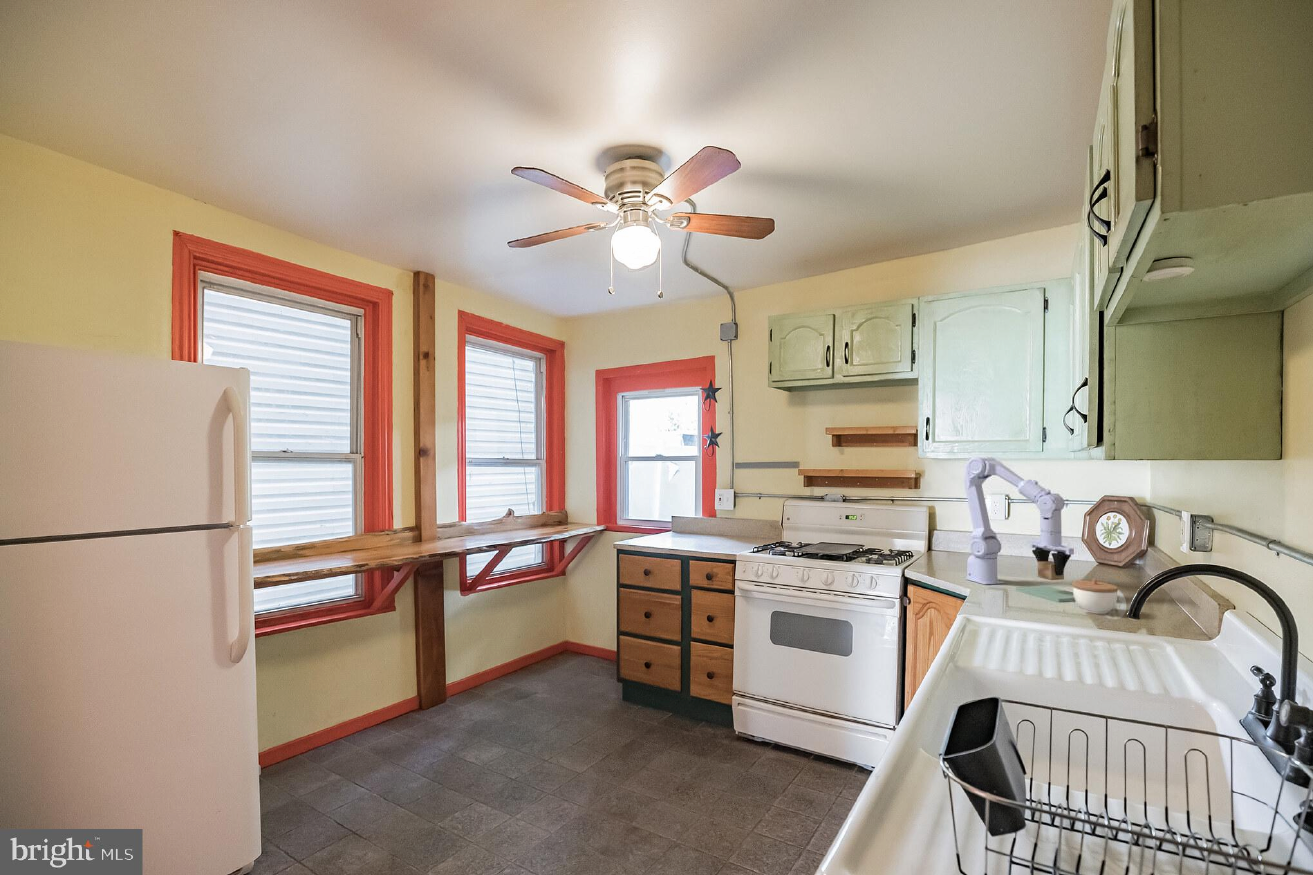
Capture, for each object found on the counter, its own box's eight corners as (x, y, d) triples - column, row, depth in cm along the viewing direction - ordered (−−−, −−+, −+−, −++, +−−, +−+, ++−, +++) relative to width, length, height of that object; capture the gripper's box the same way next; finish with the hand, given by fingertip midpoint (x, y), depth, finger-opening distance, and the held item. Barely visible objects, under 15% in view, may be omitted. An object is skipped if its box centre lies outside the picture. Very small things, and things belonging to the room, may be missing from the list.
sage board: (1015, 590, 203) (1015, 587, 203) (1045, 588, 206) (1045, 585, 206) (1058, 602, 187) (1058, 598, 187) (1089, 599, 190) (1089, 596, 190)
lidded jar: (1079, 604, 184) (1079, 573, 185) (1122, 612, 176) (1122, 579, 176) (1067, 610, 178) (1067, 578, 178) (1111, 618, 169) (1111, 584, 170)
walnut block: (1037, 577, 198) (1037, 561, 198) (1050, 576, 200) (1050, 560, 200) (1051, 580, 194) (1051, 564, 194) (1064, 579, 195) (1063, 563, 195)
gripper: (1022, 528, 203) (1022, 569, 203) (1060, 534, 189) (1061, 578, 189) (1039, 528, 205) (1039, 568, 204) (1079, 533, 191) (1079, 577, 190)
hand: (1051, 573), depth 197 cm, fingers closed on walnut block, 5 cm apart
